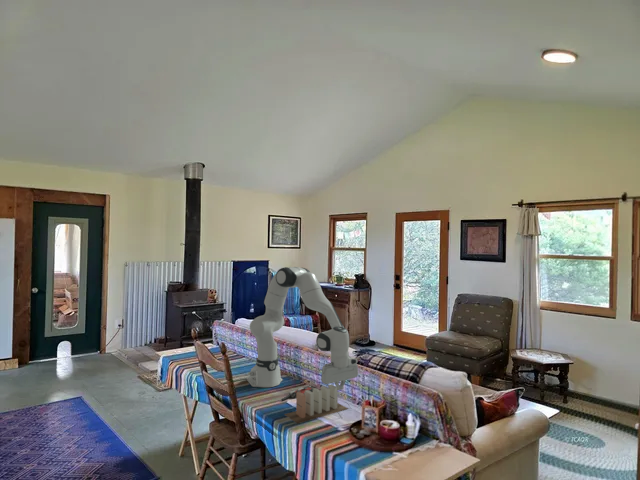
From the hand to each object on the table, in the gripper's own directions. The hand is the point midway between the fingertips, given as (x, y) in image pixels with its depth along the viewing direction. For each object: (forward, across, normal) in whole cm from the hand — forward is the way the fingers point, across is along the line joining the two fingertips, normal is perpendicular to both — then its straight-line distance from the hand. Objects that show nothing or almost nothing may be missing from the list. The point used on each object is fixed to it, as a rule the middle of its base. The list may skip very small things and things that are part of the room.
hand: (339, 389), depth 206 cm
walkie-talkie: (+9, -9, +23) cm, 27 cm away
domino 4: (+8, -9, 0) cm, 12 cm away
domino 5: (+8, -4, 0) cm, 9 cm away
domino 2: (+8, -18, 0) cm, 19 cm away
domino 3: (+8, -13, 0) cm, 15 cm away
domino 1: (+8, -22, 0) cm, 24 cm away
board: (+8, -14, 0) cm, 16 cm away
